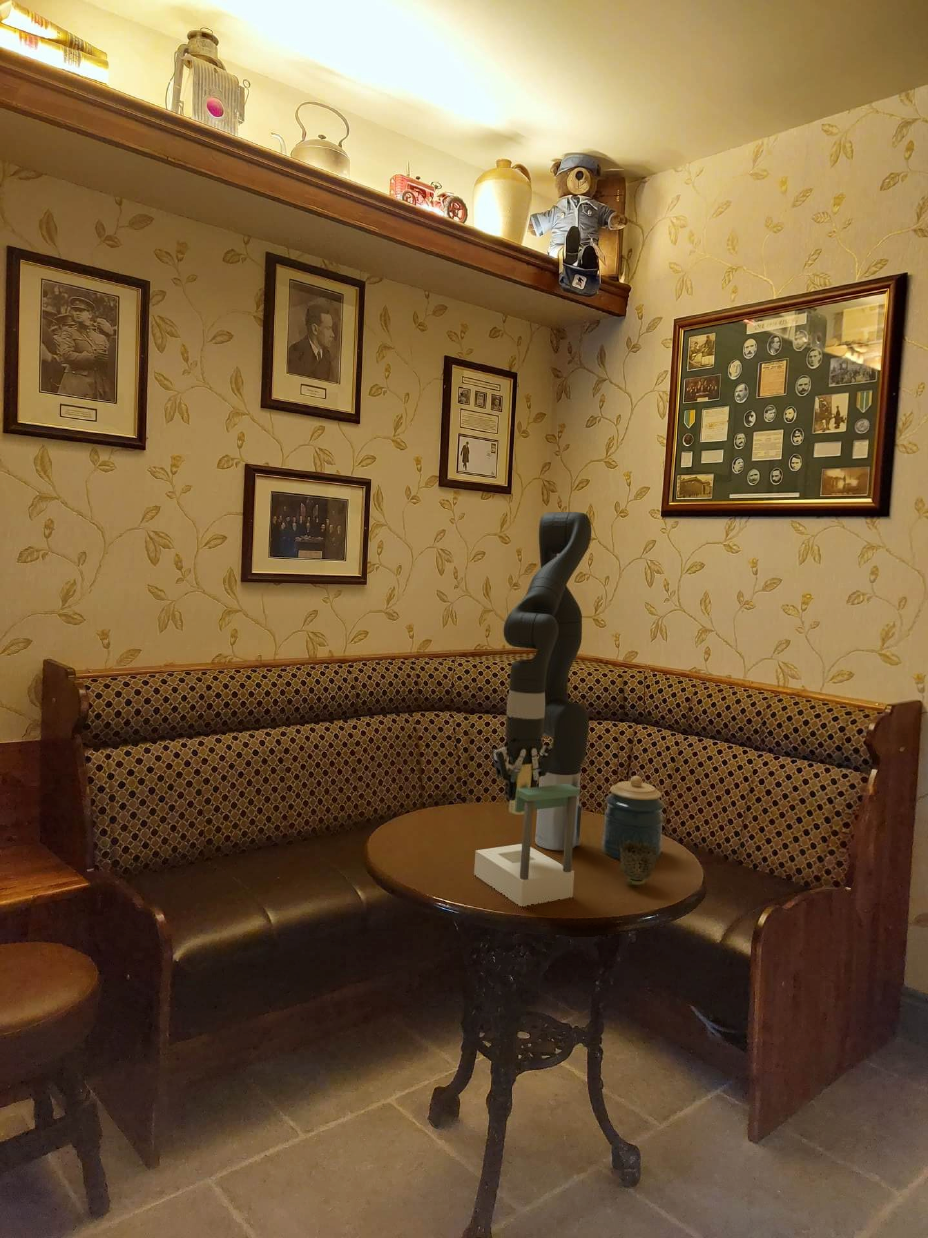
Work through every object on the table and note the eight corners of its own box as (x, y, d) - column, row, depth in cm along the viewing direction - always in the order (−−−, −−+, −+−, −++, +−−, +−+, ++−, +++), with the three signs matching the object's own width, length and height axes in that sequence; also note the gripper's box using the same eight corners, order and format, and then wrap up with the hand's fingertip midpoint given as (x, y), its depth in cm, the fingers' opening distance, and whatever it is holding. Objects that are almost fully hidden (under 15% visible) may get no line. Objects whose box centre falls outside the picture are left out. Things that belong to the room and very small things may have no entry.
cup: (628, 875, 175) (631, 837, 175) (660, 885, 171) (663, 847, 170) (610, 884, 170) (613, 846, 169) (643, 895, 165) (646, 855, 164)
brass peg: (521, 807, 170) (525, 759, 170) (533, 813, 167) (536, 764, 166) (505, 809, 168) (508, 760, 168) (516, 815, 165) (519, 765, 164)
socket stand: (523, 866, 177) (529, 767, 175) (572, 897, 162) (580, 789, 161) (474, 874, 171) (480, 772, 169) (520, 907, 156) (528, 795, 154)
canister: (666, 865, 183) (673, 785, 181) (607, 862, 183) (613, 782, 181) (653, 844, 196) (658, 770, 194) (597, 841, 196) (602, 767, 194)
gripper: (543, 708, 173) (538, 790, 174) (485, 711, 166) (479, 796, 167) (565, 715, 166) (560, 800, 168) (505, 718, 159) (499, 807, 161)
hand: (519, 798), depth 167 cm, fingers closed on brass peg, 4 cm apart
